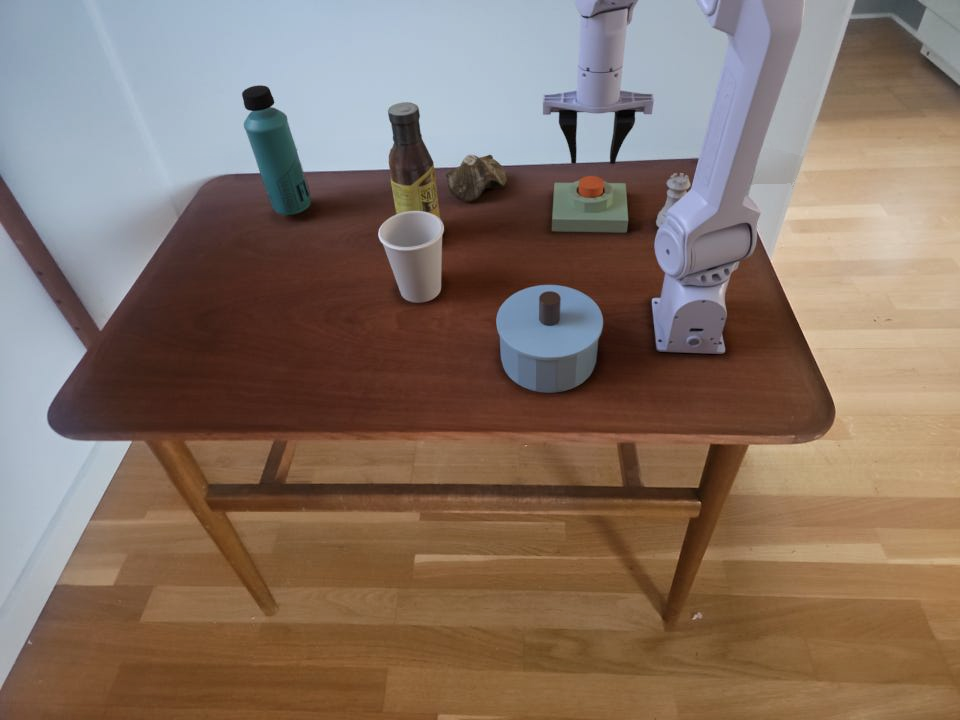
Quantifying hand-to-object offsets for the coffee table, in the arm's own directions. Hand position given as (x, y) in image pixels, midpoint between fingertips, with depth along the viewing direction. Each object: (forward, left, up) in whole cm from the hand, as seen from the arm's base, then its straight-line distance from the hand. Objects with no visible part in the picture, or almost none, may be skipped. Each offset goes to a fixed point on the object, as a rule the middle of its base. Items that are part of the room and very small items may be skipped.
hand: (592, 160), depth 93 cm
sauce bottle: (-7, +25, -9) cm, 28 cm away
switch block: (0, 0, -9) cm, 9 cm away
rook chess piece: (-3, -12, -9) cm, 15 cm away
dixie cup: (-19, +23, -9) cm, 31 cm away
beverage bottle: (-1, +47, -9) cm, 48 cm away
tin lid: (-31, +5, -3) cm, 32 cm away
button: (0, 0, -5) cm, 5 cm away
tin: (-31, +5, -9) cm, 33 cm away
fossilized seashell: (+6, +18, -9) cm, 21 cm away
